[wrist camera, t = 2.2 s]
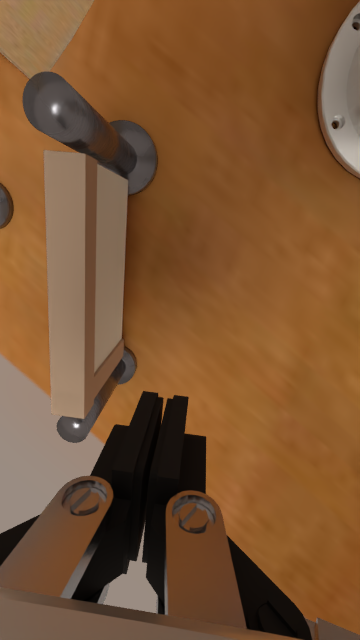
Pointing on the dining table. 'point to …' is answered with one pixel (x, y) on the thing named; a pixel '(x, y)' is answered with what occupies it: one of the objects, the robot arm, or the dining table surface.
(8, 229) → the dining table surface
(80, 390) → the panel
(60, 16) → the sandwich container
